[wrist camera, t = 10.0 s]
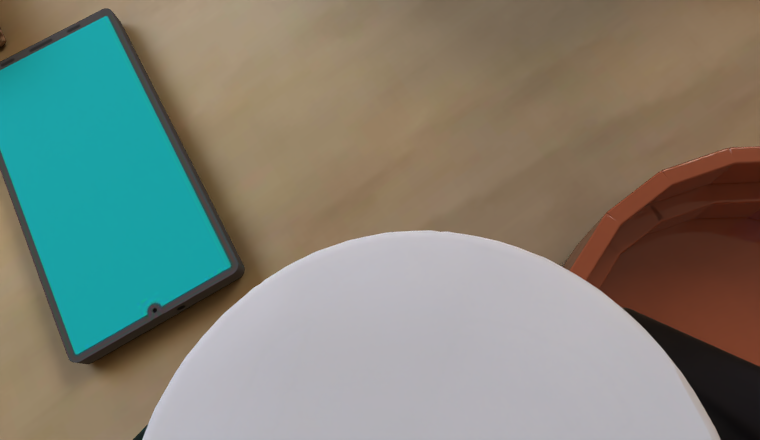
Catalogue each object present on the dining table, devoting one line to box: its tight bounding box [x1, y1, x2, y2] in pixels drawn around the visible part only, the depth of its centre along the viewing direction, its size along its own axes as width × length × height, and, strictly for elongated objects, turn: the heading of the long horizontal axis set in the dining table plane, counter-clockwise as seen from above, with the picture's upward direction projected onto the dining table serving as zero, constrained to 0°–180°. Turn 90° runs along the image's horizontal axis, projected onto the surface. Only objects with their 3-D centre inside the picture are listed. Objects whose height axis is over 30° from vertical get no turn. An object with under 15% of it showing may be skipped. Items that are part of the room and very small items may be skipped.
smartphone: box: [0, 9, 244, 364], centre depth 24 cm, size 7×1×15 cm
